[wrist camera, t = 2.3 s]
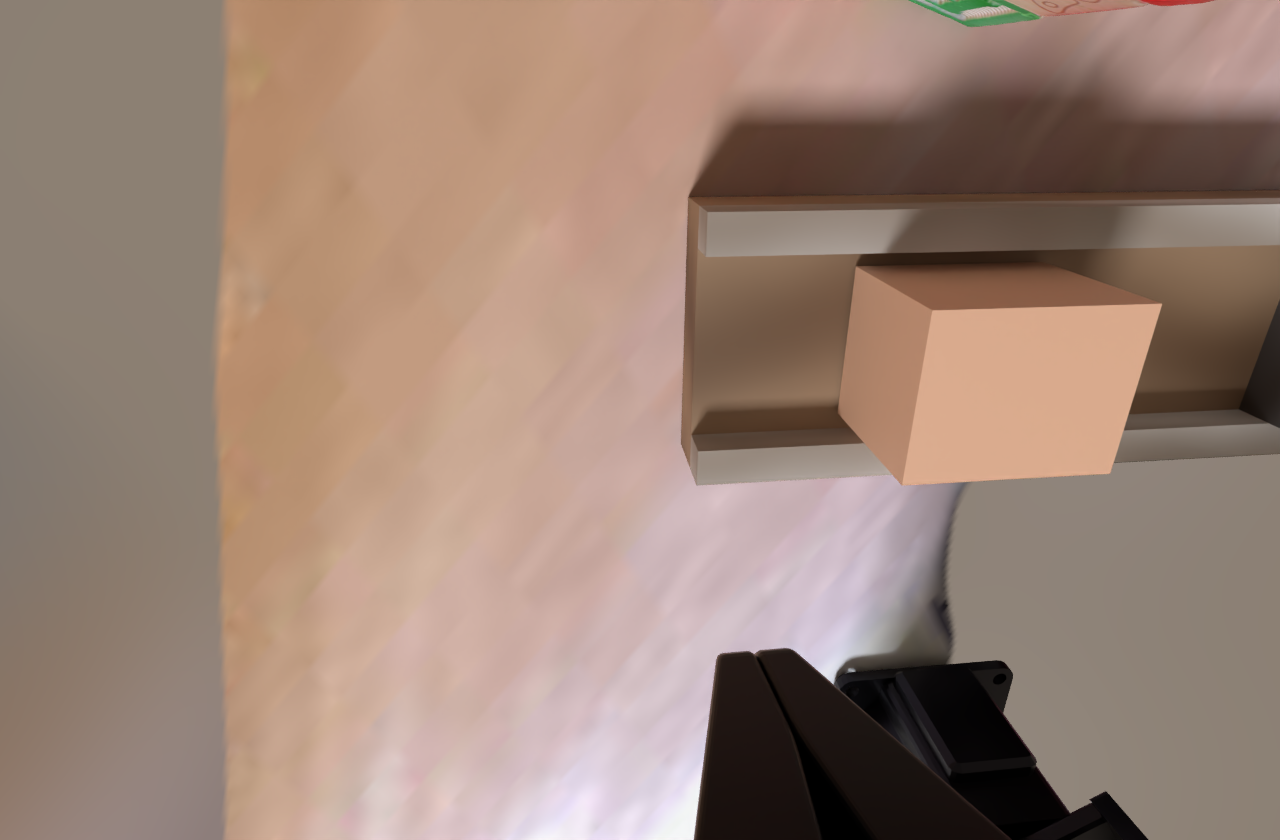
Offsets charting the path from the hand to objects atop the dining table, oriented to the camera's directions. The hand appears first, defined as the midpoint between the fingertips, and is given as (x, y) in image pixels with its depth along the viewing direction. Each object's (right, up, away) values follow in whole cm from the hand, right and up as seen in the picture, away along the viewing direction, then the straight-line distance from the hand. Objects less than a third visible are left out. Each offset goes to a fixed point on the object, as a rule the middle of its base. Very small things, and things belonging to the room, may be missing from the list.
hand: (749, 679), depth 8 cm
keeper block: (+7, +5, +11) cm, 14 cm away
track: (+9, +6, +13) cm, 17 cm away
